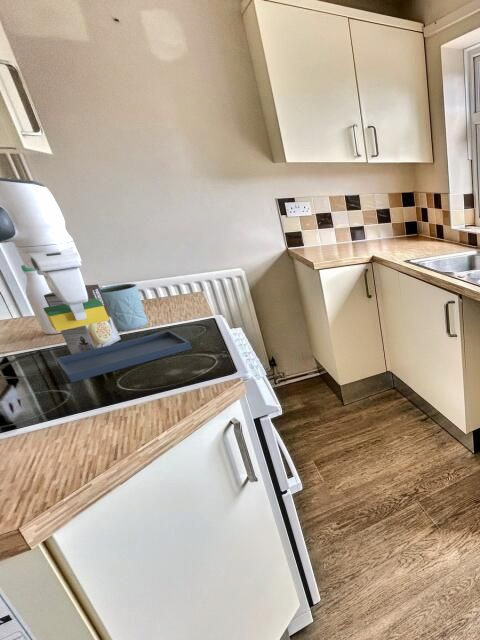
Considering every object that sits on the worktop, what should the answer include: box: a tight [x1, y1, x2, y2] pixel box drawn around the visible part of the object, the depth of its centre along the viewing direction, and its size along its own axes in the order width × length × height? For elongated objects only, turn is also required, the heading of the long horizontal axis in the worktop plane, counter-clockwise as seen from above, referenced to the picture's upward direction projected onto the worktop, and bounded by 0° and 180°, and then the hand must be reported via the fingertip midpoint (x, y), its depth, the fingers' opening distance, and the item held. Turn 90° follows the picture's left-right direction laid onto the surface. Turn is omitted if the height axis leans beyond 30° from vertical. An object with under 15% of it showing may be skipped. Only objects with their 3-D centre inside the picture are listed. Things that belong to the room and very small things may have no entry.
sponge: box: [43, 298, 109, 332], centre depth 97 cm, size 9×6×4 cm, turn 143°
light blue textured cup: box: [99, 283, 149, 332], centre depth 126 cm, size 10×10×12 cm
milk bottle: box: [20, 264, 62, 335], centre depth 123 cm, size 8×8×20 cm
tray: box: [54, 330, 192, 384], centre depth 106 cm, size 23×15×2 cm, turn 143°
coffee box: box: [44, 283, 122, 355], centre depth 110 cm, size 9×6×16 cm
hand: (78, 316), depth 97 cm, fingers closed on sponge, 6 cm apart
